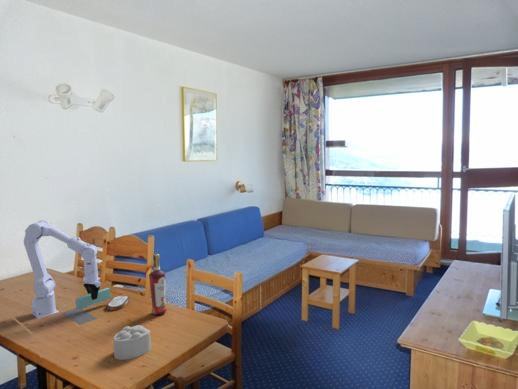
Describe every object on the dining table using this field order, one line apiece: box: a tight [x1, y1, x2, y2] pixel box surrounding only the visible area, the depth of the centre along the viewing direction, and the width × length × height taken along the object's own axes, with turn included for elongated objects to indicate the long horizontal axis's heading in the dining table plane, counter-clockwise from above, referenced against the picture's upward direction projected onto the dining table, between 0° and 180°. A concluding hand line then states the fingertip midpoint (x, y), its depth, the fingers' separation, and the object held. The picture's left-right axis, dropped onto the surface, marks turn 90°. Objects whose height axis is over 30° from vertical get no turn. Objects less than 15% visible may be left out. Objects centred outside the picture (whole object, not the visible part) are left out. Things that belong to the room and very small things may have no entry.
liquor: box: [148, 253, 167, 316], centre depth 179 cm, size 7×7×28 cm
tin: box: [106, 295, 131, 312], centre depth 191 cm, size 15×3×8 cm
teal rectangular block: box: [75, 287, 112, 310], centre depth 186 cm, size 16×2×5 cm, turn 138°
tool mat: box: [61, 307, 98, 325], centre depth 179 cm, size 8×20×1 cm, turn 48°
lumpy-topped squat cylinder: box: [112, 324, 152, 361], centre depth 146 cm, size 10×13×9 cm
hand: (93, 298), depth 186 cm, fingers closed on teal rectangular block, 2 cm apart
